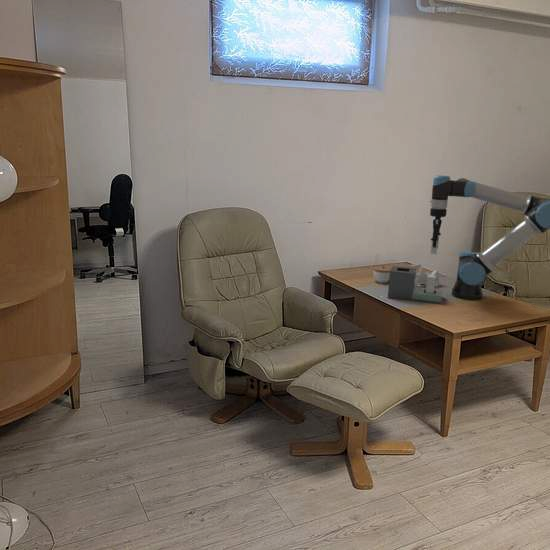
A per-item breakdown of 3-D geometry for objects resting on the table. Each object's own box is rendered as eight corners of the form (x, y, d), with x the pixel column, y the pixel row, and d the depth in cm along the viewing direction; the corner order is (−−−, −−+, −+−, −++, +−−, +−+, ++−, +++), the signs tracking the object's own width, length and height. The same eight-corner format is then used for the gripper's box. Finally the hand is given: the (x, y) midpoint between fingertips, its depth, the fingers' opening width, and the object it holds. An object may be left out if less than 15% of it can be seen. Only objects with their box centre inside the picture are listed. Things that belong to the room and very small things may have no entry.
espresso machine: (442, 297, 277) (444, 271, 273) (441, 304, 266) (443, 276, 262) (390, 291, 285) (392, 265, 281) (387, 297, 274) (389, 271, 270)
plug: (434, 296, 274) (437, 275, 271) (434, 299, 271) (436, 277, 268) (425, 295, 276) (427, 275, 273) (425, 298, 272) (427, 276, 269)
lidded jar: (368, 280, 305) (369, 264, 302) (381, 278, 311) (382, 262, 308) (382, 285, 296) (384, 268, 294) (395, 282, 303) (397, 266, 300)
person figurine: (429, 262, 305) (412, 261, 292) (448, 272, 296) (430, 271, 284) (421, 283, 309) (403, 283, 296) (439, 293, 300) (421, 293, 288)
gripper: (432, 204, 274) (428, 245, 279) (429, 210, 251) (424, 255, 257) (447, 205, 272) (443, 246, 277) (445, 211, 249) (441, 256, 254)
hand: (434, 251), depth 267 cm, fingers open, 13 cm apart
